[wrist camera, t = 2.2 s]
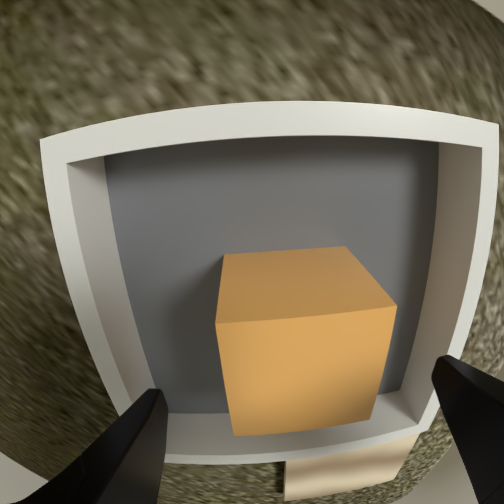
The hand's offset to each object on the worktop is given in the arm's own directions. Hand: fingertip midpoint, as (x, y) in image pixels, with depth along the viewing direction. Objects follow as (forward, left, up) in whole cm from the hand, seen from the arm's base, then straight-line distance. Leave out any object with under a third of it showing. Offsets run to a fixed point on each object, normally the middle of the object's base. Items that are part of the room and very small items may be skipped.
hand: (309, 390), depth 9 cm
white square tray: (0, 0, -6) cm, 6 cm away
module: (0, 0, -5) cm, 5 cm away
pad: (-15, -5, -6) cm, 17 cm away
